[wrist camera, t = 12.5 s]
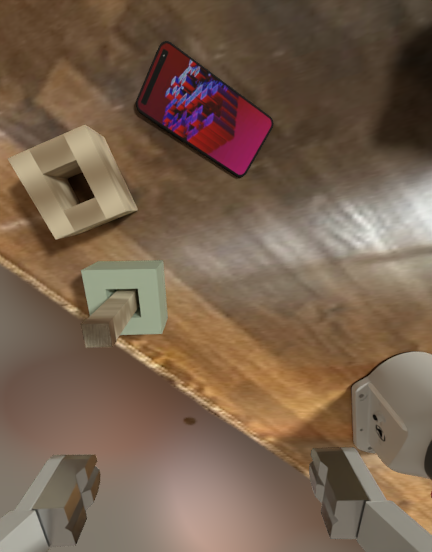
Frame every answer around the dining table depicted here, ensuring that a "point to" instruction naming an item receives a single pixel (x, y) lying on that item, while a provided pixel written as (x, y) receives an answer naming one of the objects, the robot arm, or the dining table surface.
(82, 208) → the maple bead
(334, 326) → the dining table surface
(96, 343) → the brown wooden bar
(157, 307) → the green square-hole block
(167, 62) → the smartphone
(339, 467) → the robot arm
